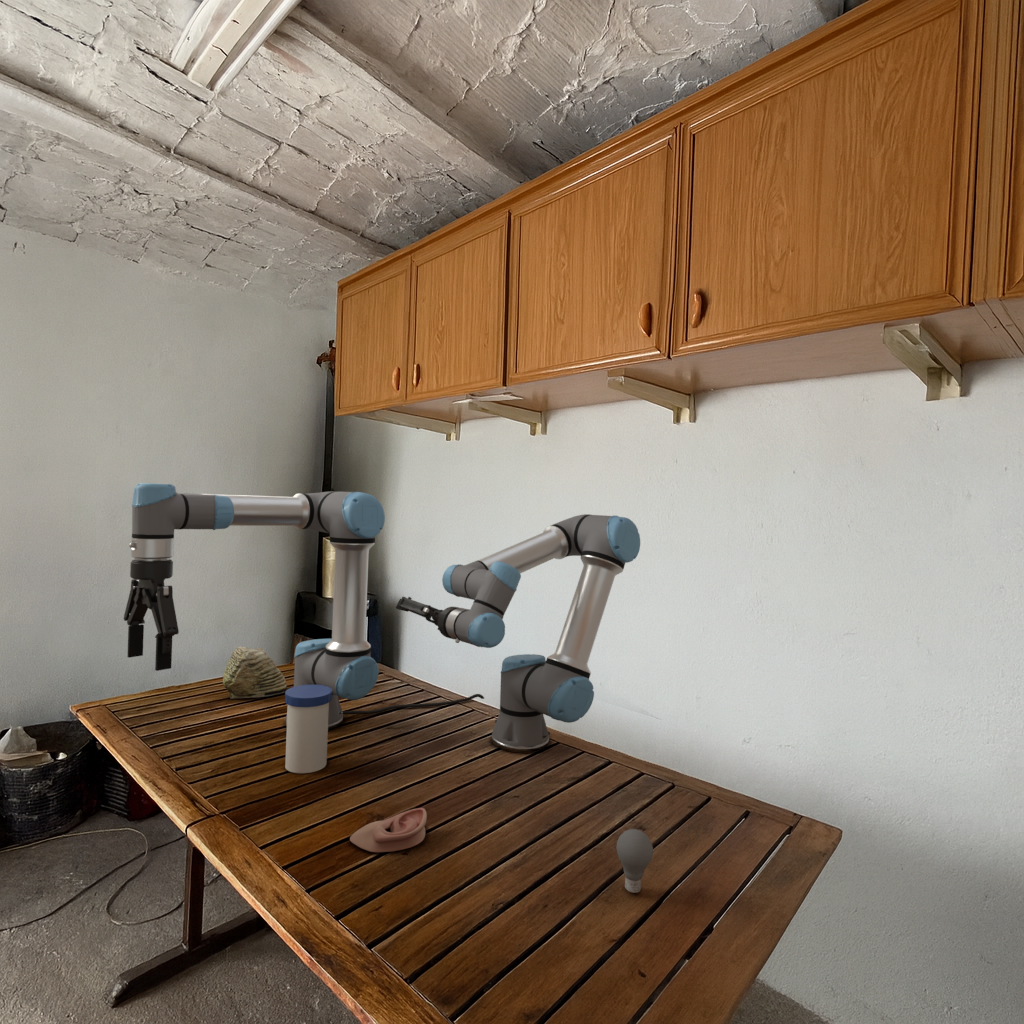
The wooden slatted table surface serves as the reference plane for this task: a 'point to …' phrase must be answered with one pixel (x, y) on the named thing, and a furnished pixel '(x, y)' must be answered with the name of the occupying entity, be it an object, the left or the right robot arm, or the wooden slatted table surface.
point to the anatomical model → (392, 832)
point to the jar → (306, 738)
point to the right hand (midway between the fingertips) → (420, 614)
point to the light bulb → (634, 857)
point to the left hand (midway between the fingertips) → (148, 662)
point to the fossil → (252, 674)
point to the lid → (308, 695)
